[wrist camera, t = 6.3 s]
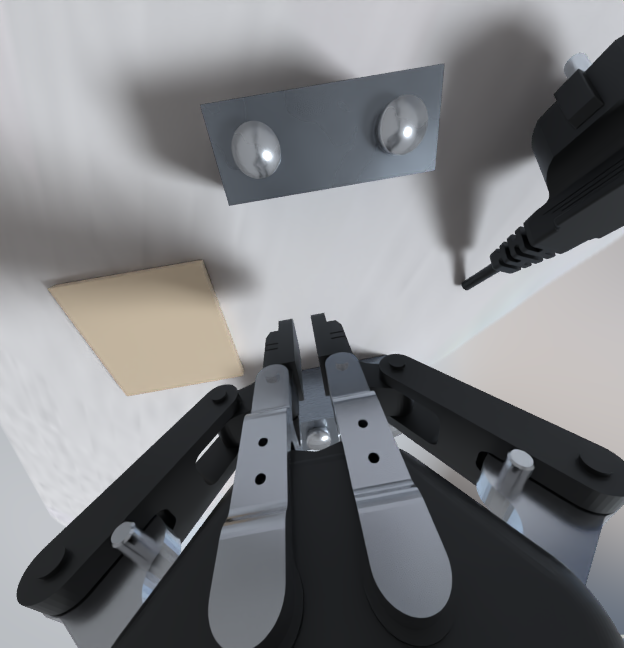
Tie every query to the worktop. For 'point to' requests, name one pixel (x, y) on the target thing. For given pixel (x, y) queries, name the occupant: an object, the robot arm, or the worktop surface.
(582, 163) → the power plug
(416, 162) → the metal blocks
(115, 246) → the worktop surface
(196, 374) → the mat
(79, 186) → the worktop surface
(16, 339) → the worktop surface
